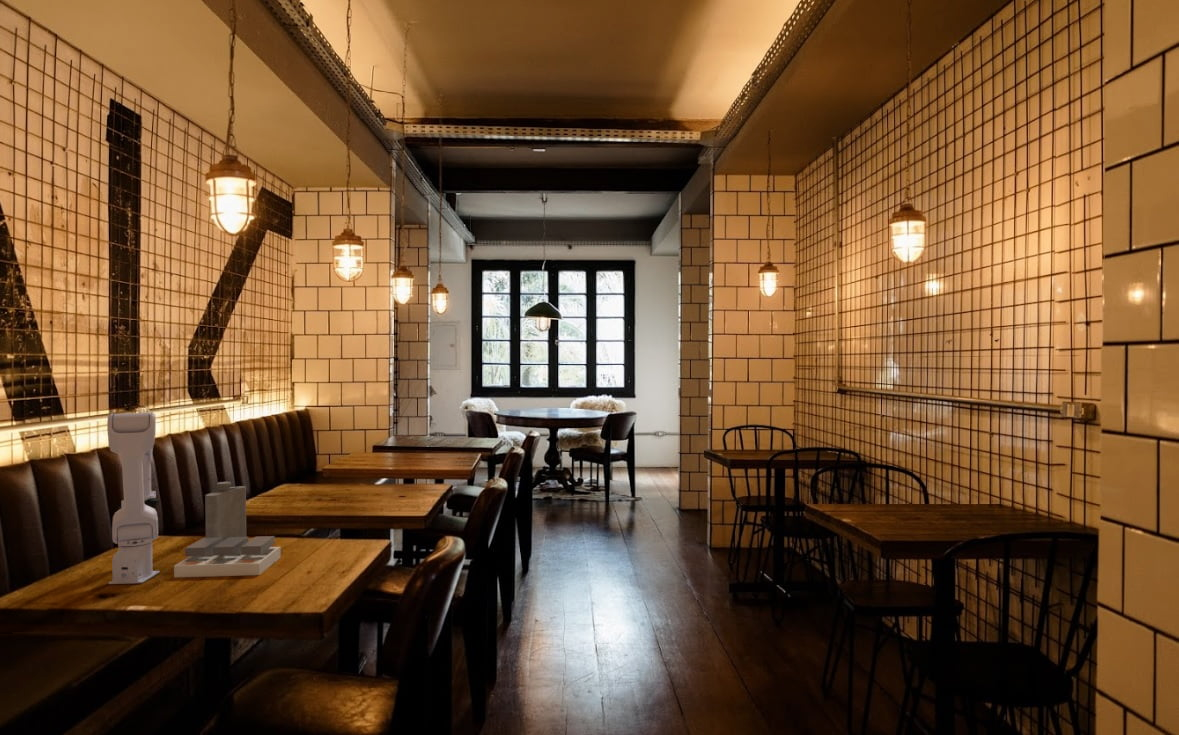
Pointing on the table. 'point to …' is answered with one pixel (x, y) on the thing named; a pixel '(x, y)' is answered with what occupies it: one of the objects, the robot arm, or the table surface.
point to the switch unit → (227, 564)
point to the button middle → (229, 546)
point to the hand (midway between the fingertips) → (139, 529)
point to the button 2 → (257, 545)
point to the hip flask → (226, 512)
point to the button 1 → (202, 547)
